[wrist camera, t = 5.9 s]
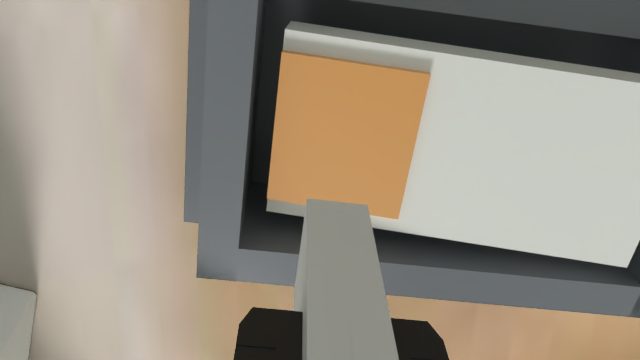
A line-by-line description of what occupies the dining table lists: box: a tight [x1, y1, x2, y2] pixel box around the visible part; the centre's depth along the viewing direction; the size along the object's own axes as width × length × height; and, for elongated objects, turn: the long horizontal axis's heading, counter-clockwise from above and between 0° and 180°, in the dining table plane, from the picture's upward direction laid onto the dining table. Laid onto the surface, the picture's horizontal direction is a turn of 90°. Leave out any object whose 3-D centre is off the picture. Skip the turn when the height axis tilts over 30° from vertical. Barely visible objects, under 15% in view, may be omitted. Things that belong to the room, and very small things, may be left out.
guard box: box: [184, 0, 640, 318], centre depth 23 cm, size 22×14×7 cm, turn 82°
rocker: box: [266, 21, 640, 268], centre depth 21 cm, size 14×7×2 cm, turn 82°
